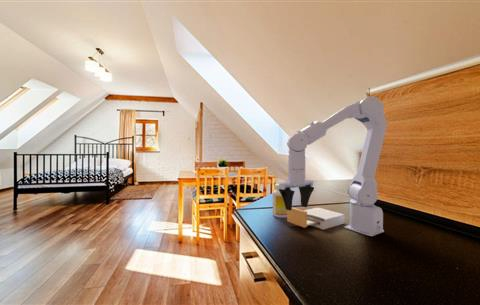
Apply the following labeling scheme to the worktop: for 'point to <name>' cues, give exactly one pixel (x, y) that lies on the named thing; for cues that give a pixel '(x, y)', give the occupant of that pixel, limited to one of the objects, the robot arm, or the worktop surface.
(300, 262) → the worktop surface
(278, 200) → the supplement bottle
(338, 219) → the dispenser
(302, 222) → the tan and white l-shape
